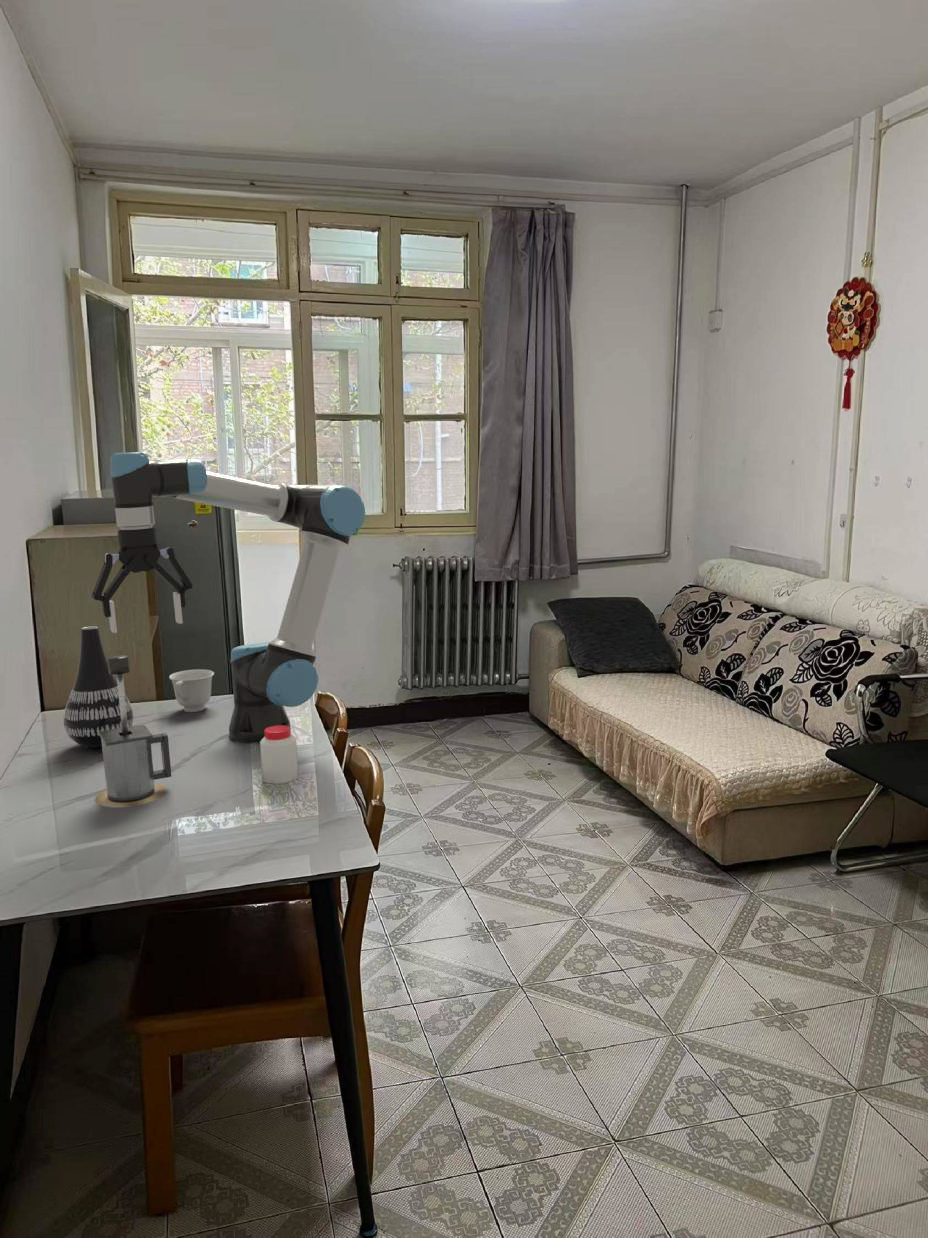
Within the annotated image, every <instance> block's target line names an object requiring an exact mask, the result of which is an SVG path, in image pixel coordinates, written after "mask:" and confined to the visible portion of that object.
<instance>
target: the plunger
mask: <svg viewBox="0 0 928 1238" xmlns="http://www.w3.org/2000/svg"><path fill="white" fill-rule="evenodd" d="M107 661H108V669H109V674H113V675H116V680H117V684H118V694H119V704H120V715H121V725H122V735H129V732H128V722H127V711H126V701H125V695H126V691H125V683H124V674H128V673H130V672H131V668H130V656H129V655H124V654H123V655H114V656H109V657H108V658H107Z"/></svg>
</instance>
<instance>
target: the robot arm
mask: <svg viewBox="0 0 928 1238" xmlns="http://www.w3.org/2000/svg"><path fill="white" fill-rule="evenodd" d="M109 461H110V462H109V463H110V464H109V465H110V466H109V467H110V479H111V486H112V494H113V500H114V510H115V518H116V519H115V520H116V522H115V523H116V526H117V527H118V528H119V529H118V530H117V537H118V539H117V541H118V549H119V550H118V553H109V552H105V553H103V565H102V568H101V570H100V573H99V575H98V578H97V581H96V582H95V586H94V589H93V591H92V593H91V598H92V599H94V600H95V601H100V602H101V605H102V613H103V616H104V617H105V618H108V621H109V630H110V632H112V634H116V633H118V629H117V620H116V617H117V616H116V610H115V602H114V601H113V600H111V599H112V598H113V596H114V595H115V593H116V592H117V591H118V589H119V588H120V586H121V585H122V583H123V582H124V581H125V579H126V578H127V576H129V574H130V573H133V574H136V573H140V572H147V573H148V572H150V571H151V570H153V571H154V572H156V573H157V574H158V575H159V576H160V577H161V579H163V580H165V582H166V583H168V584H169V585H170V586H171V587H172V588H173V589H174V590H175V591H174V592H172V597H173V598H172V599H173V600H172V601H173V608H174V609H173V610H174V615H175V616H174V617H175V623H177V624H180V625H181V624H184V622H183V613H182V612H183V611H182V608H185V607H186V597H185V593H186V591H189V590H190V589H192V588H193V583H192V582H191V580H190V579H189V578H188V576H187V574H186V573H185V571H184V569H183V568H182V566H181V565H180V563H179V562H178V560H177V558H176V556H175V552H174V549H173V548H172V547H169V546H167V547H165V548H161V549H159V548H158V547H159V546H158V540H157V538H158V537H157V531H156V530H157V529H156V528H155V527H154V525H155V523H156V521H155V513H154V502H153V498H159V497H165V498H169V499H170V498H172V499H176V500H183V501H188V502H192V503H198V504H203V505H208V506H214V507H218V508H225V509H230V510H235V511H241V512H246V513H251V514H257V515H262V516H266V517H268V518H269V520H270V521H273V522H277V523H281V524H285V525H288V526H292V527H295V528H297V529H298V528H299V529H301V530H300V535H301V536H302V538H303V540H304V543H303V547H302V550H301V553H300V558H299V561H298V563H297V567H296V571H295V574H294V577H293V580H292V581H293V582H292V584H291V587H290V588H291V589H290V590H289V594H288V598H287V602H286V606H285V610H284V612H283V615H282V619H281V623H280V627H279V630H278V632H277V637H275V638H274V639H273V640H271V641H266V642H264V641H263V642H257V643H249V644H245V645H239V646H236V647H234V648H232V649H231V651H230V662H229V663H230V666H231V667H230V669H231V680H232V692H233V705H234V706H233V711H232V713H231V714H232V715H231V718H230V722H229V726H228V737H229V738H230V739H231V740H232V741H235V742H239V743H249V744H250V743H251V744H253V743H260V741H261V740H262V739H263V738H264V737H265V731H264V730H265V729H266V728H268V727H271V726H277V725H284V726H289V727H290V732H291V733H292V730H291V727H292V726H291V722H290V718H289V716H288V714H287V712H286V709H285V707H287V708H295V707H298V706H301V705H303V704H305V703H306V702H308V701H309V700H310V699H311V697H313V696H314V694H315V692H316V691H317V688H318V685H319V673H317V668H316V667H315V666H314V665H315V662H316V658H317V654H316V652H315V650H314V648H313V646H314V642H315V638H316V635H317V631H318V628H319V625H320V621H321V618H322V614H323V610H324V607H325V604H326V599H327V596H328V593H329V589H330V585H331V582H332V579H333V575H334V572H335V568H336V564H337V561H338V559H339V554H340V552H341V551H343V550H344V549H346V548H347V547H348V546H349V543H350V539H351V536H352V535H353V534H356V533H357V532H358V531H359V530H361V529H362V527H363V524H364V522H365V519H366V508H365V503H364V502H363V500H362V497H361V496H360V494H359V492H357V491H356V490H354V489H353V488H352V487H349V486H347V485H340V484H337V483H335V484H334V483H333V484H290V483H283V482H277V483H275V484H267V483H263V482H259V481H253V480H249V479H246V478H245V479H243V478H239V477H235V476H230V475H226V474H220V473H215V472H212V471H207V468H206V466H205V464H204V463H203V462H202V461H201V460H200V459H197V458H193V459H192V458H184V459H182V458H181V459H180V458H179V459H161V460H159V459H158V460H157V459H156V460H155V459H154V460H153V459H149V456H148V453H147V452H145V451H135V452H134V451H133V452H115V453H112V454H111V456H110V458H109ZM161 556H162V557H163V558H164V559H166V560H167V562H168V563H169V565H170V566H171V568H172V570H173V571H174V573H175V575H176V576H177V577H178V579H179V580H180V582H181V583H182V584H180V583H179V582H178V581H177V580H176V579H175V578H174V577H173V576H172V575H170V574H169V573H168V571H167V570H165V569H164V568H163V567H162V565H160V564H159V563H158V561H159V559H160V557H161ZM117 560H118V561H119V562H120V563H121V564H122V565H121V567H120V569H119V570H118V573H117V574H116V575H115V577H114V578H113V580H111V582H110V583H109V586H108V587H107V588H106V590H105V591H104V588H105V587H106V584H107V581H108V579H109V576H110V575H111V574H110V573H111V571H112V568H113V565H115V564H116V563H117ZM103 591H104V592H103Z"/></svg>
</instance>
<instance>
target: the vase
mask: <svg viewBox="0 0 928 1238" xmlns="http://www.w3.org/2000/svg"><path fill="white" fill-rule="evenodd" d="M99 629H100V628H99V627H98V626H97V625H96V626H93V625H90V626H85V627H81V629H80V651H79V660H78V665H77V668H78V669H77V670H76V671H77V672H76V677H75V679H74V682H73V683H74V684H73V687H72V688H71V691H70V694H69V697H68V699H67V702H66V706H65V708H64V711H63V726H64V730H65V733H66V735H67V736H68V737H69V738H70V739H71V740H72V741H74V742H75V743H76V744H78V745H80V746H82V747H86V748H87V749H89V750H94V751H96V750H98V751H99V750H102V741H101V737H100V735H99V732H100V731H107V730H113V729H119V728H122V725H121V715H120V704H119V694H118V684H117V677H116V676H115V674H109V669H108V658H107V655H106V651H105V649H104V646H103V645H104V644H103V642H102V638H101V634H100V630H99ZM125 701H126V711H127V722H128V727H131V726H133V724H134V711H133V707H132V704H131V702H130V700H129V698H128V697H127V695H126V694H125Z"/></svg>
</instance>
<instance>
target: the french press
mask: <svg viewBox="0 0 928 1238" xmlns="http://www.w3.org/2000/svg"><path fill="white" fill-rule="evenodd" d="M128 732H129V735H122V728H119V729H113V730H107V731H100V732H99V735H100V737H101V741H102V749H101V751H102V759H103V768H104V769H103V770H104V778H105V786H106V787H105V788H106V789H105V790H107V797H108V800H110V801H112V802H117V803H127V802H135V801H139V800H143V799H146V798H148V797H150V796H151V795H153V794H154V792H155V789H154V787H155V784H154V783H155V780H161V779H165V778H171V777H172V769H171V756H170V745H169V735H168V734H167V733H166V732H164V733H157V734H152V732H151V731H150V730H149V729H148V727H147V726H146V725H145V724H139V725H132V726H131V727H128ZM157 743H160V750H161V752H160V753H161V762H162V769H159V770H154V764H153V755H152V754H153V752H152V744H157Z"/></svg>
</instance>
